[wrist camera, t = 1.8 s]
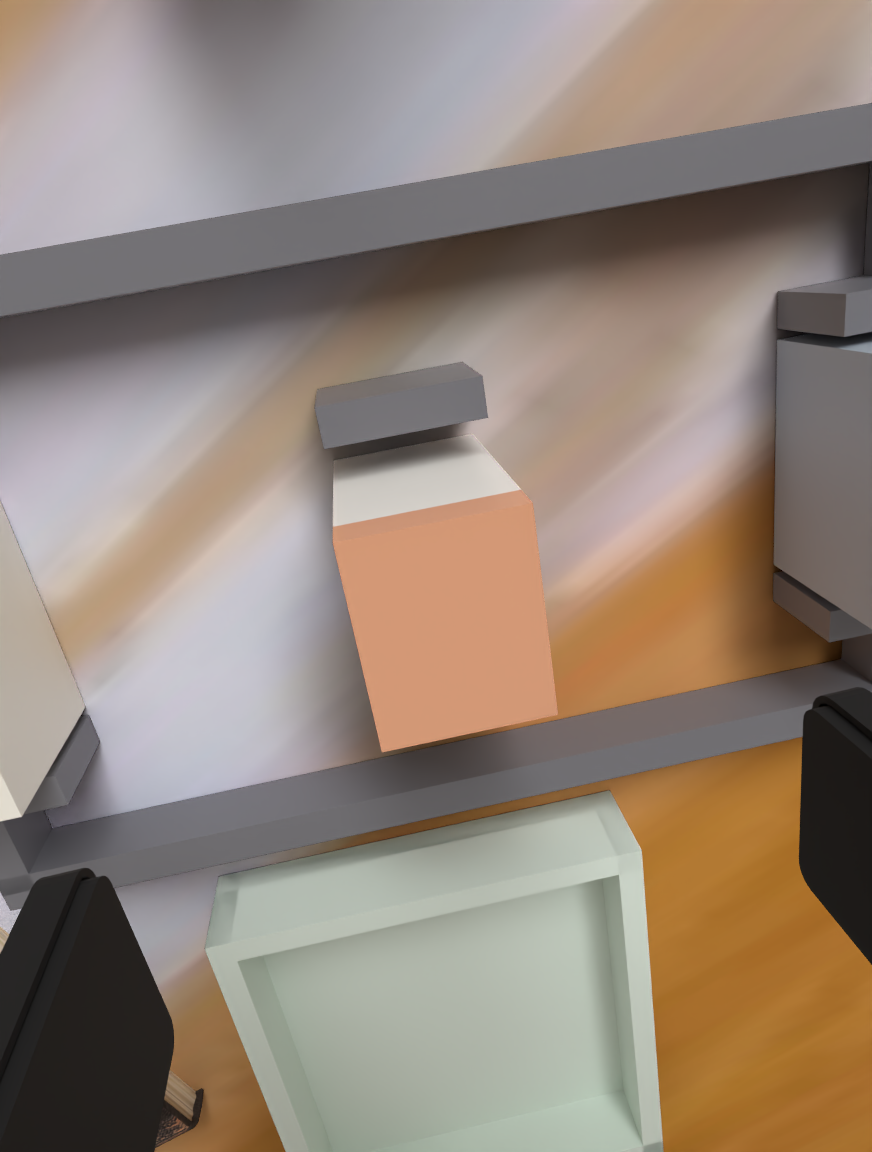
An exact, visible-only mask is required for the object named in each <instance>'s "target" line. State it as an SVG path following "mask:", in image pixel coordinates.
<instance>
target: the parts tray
mask: <svg viewBox="0 0 872 1152" xmlns="http://www.w3.org/2000/svg"><path fill="white" fill-rule="evenodd" d="M205 951H206V954H207V956H208V959H209V961H210V964H211V966H212V969H213V971H214V974H215V976H216V979H217V981H218V984H219V986H220V989H221V991H222V994H223V996H224V999H225V1001H226V1004H227V1006H228V1009H229V1011H230V1014H231V1016H232V1019H233V1021H234V1024H235V1026H236V1029H237V1031H238V1034H239V1036H240V1039H241V1041H242V1044H243V1046H244V1049H245V1051H246V1054H247V1056H248V1059H249V1061H250V1064H251V1066H252V1069H253V1071H254V1074H255V1076H256V1079H257V1081H258V1084H259V1086H260V1089H261V1091H262V1094H263V1096H264V1099H265V1101H266V1104H267V1106H268V1109H269V1111H270V1114H271V1116H272V1119H273V1121H274V1124H275V1126H276V1129H277V1131H278V1134H279V1136H280V1139H281V1141H282V1144H283V1146H284V1149H285V1151H286V1152H663V1139H662V1125H661V1112H660V1098H659V1084H658V1070H657V1056H656V1043H655V1029H654V1015H653V1001H652V987H651V973H650V960H649V946H648V932H647V918H646V904H645V890H644V877H643V863H642V850H641V848H640V846H639V844H638V843H637V841H636V839H635V837H634V835H633V833H632V831H631V829H630V828H629V826H628V824H627V822H626V820H625V818H624V816H623V814H622V813H621V811H620V809H619V807H618V805H617V803H616V801H615V799H614V797H613V796H612V794H611V792H610V790H608V791H604V792H599V793H595V794H590V795H586V796H581V797H577V798H572V799H568V800H563V801H559V802H554V803H550V804H545V805H540V806H536V807H531V808H527V809H522V810H518V811H513V812H509V813H504V814H500V815H495V816H491V817H486V818H482V819H477V820H472V821H468V822H463V823H459V824H454V825H450V826H445V827H441V828H436V829H432V830H427V831H423V832H418V833H414V834H409V835H404V836H400V837H395V838H391V839H386V840H382V841H377V842H373V843H368V844H364V845H359V846H355V847H350V848H346V849H341V850H337V851H332V852H327V853H323V854H318V855H314V856H309V857H305V858H300V859H296V860H291V861H287V862H282V863H278V864H273V865H269V866H264V867H259V868H255V869H250V870H246V871H241V872H237V873H232V874H228V875H223V876H219V877H218V883H217V888H216V893H215V898H214V903H213V908H212V913H211V918H210V924H209V929H208V934H207V939H206V944H205Z"/></svg>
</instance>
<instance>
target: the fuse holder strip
mask: <svg viewBox="0 0 872 1152" xmlns="http://www.w3.org/2000/svg"><path fill="white" fill-rule="evenodd" d="M865 163H870V170H869V187H868V205H867V222H866V239H865V257H864V274H863V276H858V277H852V278H847V279H842V280H836V281H831V282H826V283H820V284H815V285H810V286H804V287H799V288H794V289H788V290H783V291H778V314H777V329H783V330H791V331H799V332H808V333H810V334H805V335H799V336H794V337H789V338H784V339H778V340H777V379H776V444H775V508H774V565H775V566H776V567H778V568H779V569H781V570H782V571H781V572H777V573H773V601H774V602H775V603H777V604H778V605H779V606H781V607H782V608H783V609H785V610H786V611H787V612H789V613H790V614H791V615H793V616H794V617H795V618H797V619H798V620H799V621H801V622H802V623H803V624H805V625H806V626H808V627H809V628H810V629H812V630H813V631H814V632H816V633H817V634H818V635H820V636H821V637H822V638H824V639H825V640H826V641H828V642H834V641H839V640H842V657H841V659H839V660H835V661H830V662H825V663H821V664H816V665H811V666H807V667H802V668H797V669H793V670H788V671H783V672H779V673H774V674H769V675H765V676H760V677H755V678H751V679H746V680H741V681H737V682H732V683H727V684H723V685H718V686H714V687H709V688H704V689H700V690H695V691H690V692H686V693H681V694H676V695H672V696H667V697H662V698H658V699H653V700H648V701H644V702H639V703H634V704H630V705H625V706H620V707H616V708H611V709H606V710H602V711H597V712H592V713H588V714H583V715H578V716H574V717H569V718H565V719H560V720H555V721H551V722H546V723H541V724H537V725H532V726H527V727H523V728H518V729H513V730H509V731H504V732H499V733H495V734H490V735H485V736H481V737H476V738H471V739H467V740H462V741H457V742H453V743H448V744H443V745H439V746H434V747H429V748H425V749H420V750H416V751H411V752H406V753H402V754H397V755H392V756H388V757H383V758H378V759H374V760H369V761H364V762H360V763H355V764H350V765H346V766H341V767H336V768H332V769H327V770H322V771H318V772H313V773H308V774H304V775H299V776H294V777H290V778H285V779H280V780H276V781H271V782H267V783H262V784H257V785H253V786H248V787H243V788H239V789H234V790H229V791H225V792H220V793H215V794H211V795H206V796H201V797H197V798H192V799H187V800H183V801H178V802H173V803H169V804H164V805H159V806H155V807H150V808H145V809H141V810H136V811H131V812H127V813H122V814H118V815H113V816H108V817H104V818H99V819H94V820H90V821H85V822H80V823H76V824H71V825H66V826H62V827H57V828H52V827H51V825H50V823H49V821H48V819H47V817H46V814H45V812H44V810H46V809H51V808H56V807H61V806H65V805H68V804H69V802H70V800H71V798H72V796H73V794H74V792H75V790H76V788H77V786H78V784H79V782H80V780H81V778H82V776H83V774H84V772H85V770H86V768H87V766H88V765H89V763H90V761H91V759H92V757H93V755H94V753H95V751H96V749H97V747H98V745H99V743H100V741H99V738H98V736H97V733H96V731H95V729H94V726H93V724H92V721H91V719H90V717H89V715H87V716H82V717H80V716H81V714H82V712H83V710H84V709H85V704H84V702H83V700H82V697H81V695H80V692H79V690H78V688H77V685H76V683H75V680H74V678H73V675H72V673H71V671H70V668H69V666H68V663H67V661H66V659H65V656H64V654H63V651H62V649H61V647H60V644H59V642H58V639H57V637H56V634H55V632H54V630H53V627H52V625H51V622H50V620H49V618H48V615H47V613H46V610H45V608H44V605H43V603H42V601H41V598H40V596H39V593H38V591H37V589H36V586H35V584H34V581H33V579H32V576H31V574H30V572H29V569H28V567H27V564H26V562H25V560H24V557H23V555H22V552H21V550H20V547H19V545H18V543H17V540H16V538H15V535H14V533H13V531H12V528H11V526H10V523H9V521H8V519H7V516H6V514H5V511H4V509H3V506H2V504H1V502H0V892H1V894H2V895H3V897H4V899H5V901H6V903H7V905H8V907H9V909H10V911H12V910H16V909H21V908H22V907H23V905H24V903H25V901H26V899H27V896H28V894H29V892H30V890H31V888H32V886H33V885H34V883H35V882H36V881H37V880H39V879H40V878H42V877H47V876H51V875H55V874H60V873H64V872H68V871H72V870H77V869H81V868H89V869H91V870H92V871H93V872H94V874H95V875H96V877H99V876H106V877H108V878H109V880H110V881H111V883H112V885H113V888H116V887H121V886H126V885H130V884H135V883H139V882H144V881H148V880H153V879H157V878H162V877H167V876H171V875H176V874H180V873H185V872H189V871H194V870H198V869H203V868H207V867H212V866H217V865H221V864H226V863H230V862H235V861H239V860H244V859H248V858H253V857H257V856H262V855H267V854H271V853H276V852H280V851H285V850H289V849H294V848H298V847H303V846H308V845H312V844H317V843H321V842H326V841H330V840H335V839H339V838H344V837H348V836H353V835H358V834H362V833H367V832H371V831H376V830H380V829H385V828H389V827H394V826H398V825H403V824H408V823H412V822H417V821H421V820H426V819H430V818H435V817H439V816H444V815H449V814H453V813H458V812H462V811H467V810H471V809H476V808H480V807H485V806H489V805H494V804H499V803H503V802H508V801H512V800H517V799H521V798H526V797H530V796H535V795H539V794H544V793H549V792H553V791H558V790H562V789H567V788H571V787H576V786H580V785H585V784H590V783H594V782H599V781H603V780H608V779H612V778H617V777H621V776H626V775H630V774H635V773H640V772H644V771H649V770H653V769H658V768H662V767H667V766H671V765H676V764H680V763H685V762H690V761H694V760H699V759H703V758H708V757H712V756H717V755H721V754H726V753H731V752H735V751H740V750H744V749H749V748H753V747H758V746H762V745H767V744H771V743H776V742H781V741H785V740H790V739H794V738H799V737H803V718H804V714H805V712H806V711H808V710H810V709H812V706H813V702H814V700H815V699H816V698H817V697H819V696H821V695H825V694H830V693H834V692H838V691H842V690H847V689H851V688H855V687H861V688H865V689H867V690H868V691H870V692H872V103H869V104H863V105H858V106H852V107H846V108H840V109H835V110H829V111H823V112H817V113H812V114H806V115H800V116H795V117H789V118H783V119H777V120H772V121H766V122H760V123H754V124H749V125H743V126H737V127H731V128H726V129H720V130H714V131H708V132H703V133H697V134H691V135H685V136H680V137H674V138H668V139H663V140H657V141H651V142H645V143H640V144H634V145H628V146H622V147H617V148H611V149H605V150H599V151H594V152H588V153H582V154H576V155H571V156H565V157H559V158H553V159H548V160H542V161H536V162H531V163H525V164H519V165H513V166H508V167H502V168H496V169H490V170H485V171H479V172H473V173H467V174H462V175H456V176H450V177H444V178H439V179H433V180H427V181H421V182H416V183H410V184H404V185H399V186H393V187H387V188H381V189H376V190H370V191H364V192H358V193H353V194H347V195H341V196H335V197H330V198H324V199H318V200H312V201H307V202H301V203H295V204H289V205H284V206H278V207H272V208H267V209H261V210H255V211H249V212H244V213H238V214H232V215H226V216H221V217H215V218H209V219H203V220H198V221H192V222H186V223H180V224H175V225H169V226H163V227H157V228H152V229H146V230H140V231H135V232H129V233H123V234H117V235H112V236H106V237H100V238H94V239H89V240H83V241H77V242H71V243H66V244H60V245H54V246H48V247H43V248H37V249H31V250H25V251H20V252H14V253H8V254H3V255H0V318H3V317H9V316H14V315H20V314H26V313H31V312H37V311H42V310H48V309H54V308H59V307H65V306H70V305H76V304H82V303H87V302H93V301H98V300H104V299H110V298H115V297H121V296H126V295H132V294H138V293H143V292H149V291H154V290H160V289H166V288H171V287H177V286H182V285H188V284H194V283H199V282H205V281H210V280H216V279H222V278H227V277H233V276H238V275H244V274H250V273H255V272H261V271H266V270H272V269H278V268H283V267H289V266H294V265H300V264H305V263H311V262H317V261H322V260H328V259H333V258H339V257H345V256H350V255H356V254H361V253H367V252H373V251H378V250H384V249H389V248H395V247H401V246H406V245H412V244H417V243H423V242H429V241H434V240H440V239H445V238H451V237H457V236H462V235H468V234H473V233H479V232H485V231H490V230H496V229H501V228H507V227H513V226H518V225H524V224H529V223H535V222H541V221H546V220H552V219H557V218H563V217H569V216H574V215H580V214H585V213H591V212H597V211H602V210H608V209H613V208H619V207H625V206H630V205H636V204H641V203H647V202H653V201H658V200H664V199H669V198H675V197H681V196H686V195H692V194H697V193H703V192H709V191H714V190H720V189H725V188H731V187H737V186H742V185H748V184H753V183H759V182H765V181H770V180H776V179H781V178H787V177H793V176H798V175H804V174H809V173H815V172H821V171H826V170H832V169H837V168H843V167H849V166H854V165H860V164H865ZM315 412H316V416H317V421H318V425H319V429H320V434H321V438H322V443H323V447H324V449H328V448H333V447H338V446H343V445H349V444H354V443H359V442H364V441H369V440H375V439H380V438H385V437H390V436H395V435H401V434H406V433H411V432H416V431H421V430H427V429H432V428H437V427H442V426H448V425H453V424H458V423H463V422H468V421H474V420H479V419H484V418H488V414H487V406H486V399H485V392H484V384H483V377H482V375H481V374H479V373H478V372H476V371H475V370H473V369H472V368H470V367H469V366H467V365H466V364H465V363H463V362H460V363H454V364H449V365H444V366H438V367H433V368H428V369H422V370H417V371H412V372H406V373H401V374H396V375H390V376H385V377H380V378H374V379H369V380H364V381H358V382H353V383H348V384H342V385H337V386H332V387H326V388H321V389H317V395H316V401H315Z"/></svg>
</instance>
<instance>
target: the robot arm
mask: <svg viewBox="0 0 872 1152" xmlns="http://www.w3.org/2000/svg"><path fill="white" fill-rule="evenodd" d="M799 865H800V869H801V872H802V875H803V877H804V879H805V881H806V883H807V885H808V886H809V888H810V889H811V891H812V892H813V893H814V894H815V896H816V897H817V898H818V899H819V901H820V902H821V903H822V904H823V905H824V907H825V908H826V909H827V910H828V912H829V913H830V914H831V915H832V916H833V918H834V919H835V920H836V921H837V923H838V924H839V925H840V926H841V927H842V929H843V930H844V931H845V932H846V934H847V935H848V936H849V937H850V939H851V940H852V941H853V942H854V943H855V945H856V946H857V947H858V948H859V950H860V951H861V952H862V953H863V954H864V956H865V957H866V958H867V959H868V961H869V962H870V963H871V964H872V692H870V691H868V690H867V689H865V688H861V687H855V688H851V689H847V690H842V691H838V692H834V693H830V694H825V695H821V696H819V697H817V698H816V699H815V700H814V702H813V706H812V709H810V710H808V711H806V712H805V714H804V718H803V741H802V774H801V808H800V841H799ZM173 1048H174V1030H173V1024H172V1020H171V1017H170V1015H169V1012H168V1010H167V1008H166V1005H165V1003H164V1001H163V999H162V996H161V994H160V992H159V990H158V987H157V985H156V983H155V981H154V978H153V976H152V974H151V971H150V969H149V967H148V965H147V962H146V960H145V958H144V956H143V953H142V951H141V949H140V947H139V944H138V942H137V940H136V937H135V935H134V933H133V931H132V928H131V926H130V924H129V922H128V919H127V917H126V915H125V912H124V910H123V908H122V906H121V903H120V901H119V899H118V897H117V894H116V892H115V890H114V888H113V885H112V883H111V881H110V880H109V878H108V877H106V876H99V877H96V875H95V874H94V872H93V871H92V870H91V869H89V868H81V869H77V870H72V871H68V872H64V873H60V874H55V875H51V876H47V877H42V878H40V879H39V880H37V881H36V882H35V883H34V885H33V886H32V888H31V890H30V892H29V894H28V896H27V899H26V901H25V903H24V905H23V907H22V909H21V911H20V913H19V915H18V917H17V920H16V922H15V924H14V926H13V928H12V930H11V932H10V934H9V936H8V939H7V941H6V943H5V945H4V947H3V949H2V951H1V953H0V1152H154V1150H155V1145H156V1140H157V1134H158V1129H159V1124H160V1119H161V1113H162V1108H163V1103H164V1097H165V1092H166V1087H167V1082H168V1076H169V1071H170V1066H171V1060H172V1055H173Z"/></svg>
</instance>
